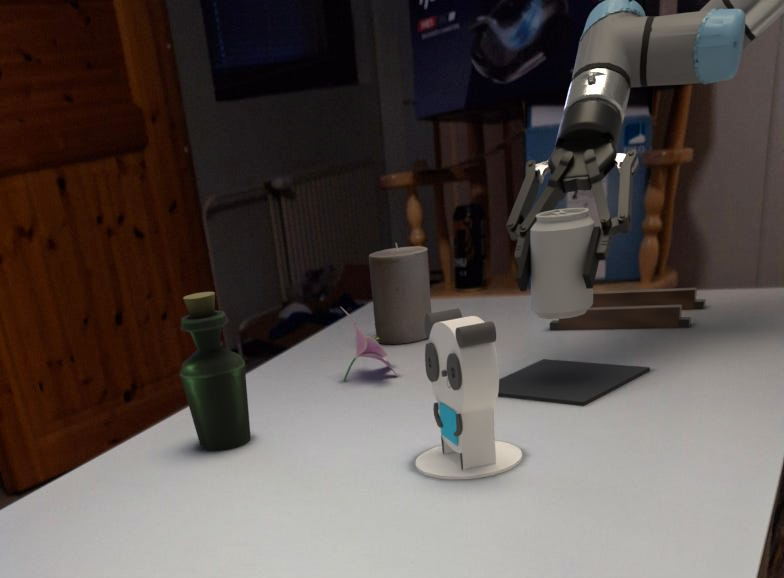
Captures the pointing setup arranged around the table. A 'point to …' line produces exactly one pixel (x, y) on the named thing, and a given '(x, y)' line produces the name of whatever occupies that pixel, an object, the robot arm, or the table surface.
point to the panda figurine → (464, 399)
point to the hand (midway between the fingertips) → (553, 283)
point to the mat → (567, 381)
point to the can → (560, 263)
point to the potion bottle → (214, 378)
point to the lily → (367, 347)
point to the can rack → (635, 310)
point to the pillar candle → (400, 293)
